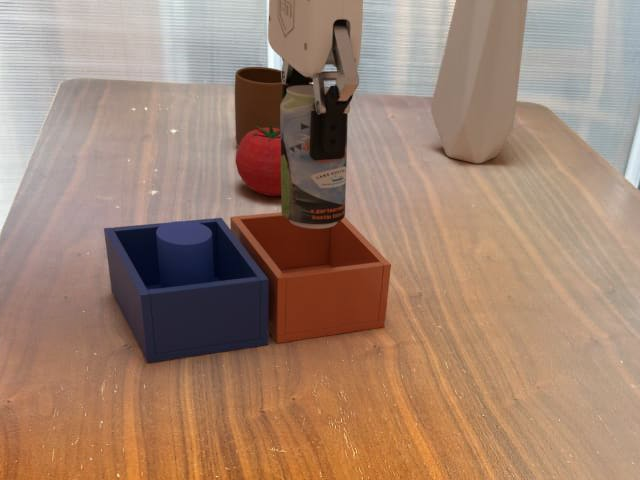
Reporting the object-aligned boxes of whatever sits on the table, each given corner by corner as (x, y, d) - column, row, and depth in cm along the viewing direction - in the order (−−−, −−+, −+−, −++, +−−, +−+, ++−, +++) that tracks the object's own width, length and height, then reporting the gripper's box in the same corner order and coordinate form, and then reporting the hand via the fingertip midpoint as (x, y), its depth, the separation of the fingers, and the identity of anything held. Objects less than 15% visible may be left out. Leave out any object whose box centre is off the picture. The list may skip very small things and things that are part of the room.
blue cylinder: (170, 327, 84) (164, 246, 78) (156, 302, 87) (149, 223, 81) (221, 320, 86) (219, 241, 80) (206, 295, 89) (202, 218, 83)
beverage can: (306, 243, 82) (317, 108, 74) (260, 211, 85) (265, 78, 77) (358, 231, 85) (373, 100, 77) (311, 200, 89) (321, 72, 81)
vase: (416, 158, 126) (450, -128, 104) (439, 134, 134) (475, -135, 112) (498, 177, 124) (550, -110, 102) (516, 152, 132) (568, -119, 110)
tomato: (231, 201, 108) (230, 133, 103) (240, 174, 114) (239, 109, 109) (303, 208, 109) (305, 141, 103) (308, 181, 115) (310, 117, 110)
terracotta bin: (277, 343, 85) (277, 278, 80) (231, 279, 94) (230, 216, 89) (384, 327, 90) (391, 264, 85) (332, 267, 98) (335, 207, 94)
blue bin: (147, 363, 80) (140, 294, 76) (111, 293, 89) (103, 228, 84) (268, 344, 85) (268, 279, 80) (223, 280, 93) (221, 217, 89)
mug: (325, 147, 125) (329, 75, 119) (318, 166, 119) (322, 92, 113) (241, 135, 125) (240, 63, 118) (230, 154, 119) (229, 79, 113)
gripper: (238, -117, 73) (242, 114, 85) (319, -73, 62) (310, 184, 74) (322, -111, 76) (314, 111, 88) (413, -68, 65) (389, 178, 77)
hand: (312, 142), depth 81 cm, fingers closed on beverage can, 6 cm apart
